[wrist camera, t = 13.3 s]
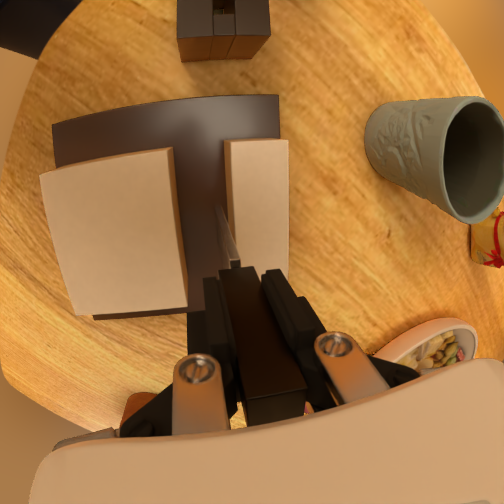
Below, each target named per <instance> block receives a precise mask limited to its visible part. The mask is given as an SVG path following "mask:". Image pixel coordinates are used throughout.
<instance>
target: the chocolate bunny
mask: <svg viewBox="0 0 504 504" xmlns="http://www.w3.org/2000/svg"><path fill="white" fill-rule="evenodd" d="M498 208H499V207H497V208H496V209H495V210H494V212H493V213H492V214H491V215H490V216H488V217H487V218H486V219H485V220H483V221H482V222H479V223H476V224H471V258H472V261H474V262H476V263H478V264H482V265H487V266H491V267H496V268H501V266H504V212H501V211H500V210H499V209H498Z"/></svg>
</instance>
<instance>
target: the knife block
mask: <svg viewBox="0 0 504 504" xmlns="http://www.w3.org/2000/svg"><path fill="white" fill-rule="evenodd" d="M215 9H224V14H216V15H213V10H215ZM270 36H271V29H270V13H269V0H177V42H178V47H179V52H180V57H181V62H191V61H204V60H222V59H252V57H253V56H254V55H255V54H256V53H257V51H258V50H259V49H260V48H261V47H262V45H263V44H264V43H265V42H266V41H267V39H268V38H269V37H270Z"/></svg>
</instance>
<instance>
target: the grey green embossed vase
mask: <svg viewBox="0 0 504 504" xmlns="http://www.w3.org/2000/svg"><path fill="white" fill-rule="evenodd" d="M364 143H365V150H366V154H367V156H368V159H369V161H370V163H371V165H372V166H373V168H374V169H375V170H376V171H377V172H378V173H379V174H380V175H381V176H383V177H384V178H386V179H388V180H390V181H392V182H394V183H396V184H398V185H400V186H402V187H404V188H405V189H407V190H408V191H410V192H412V193H414V194H415V195H417V196H419V197H422V198H424V199H428V200H429V201H430V202H431V203H432V204H436V205H437V206H438V207H439V208H440V209H442V210H443V211H445V212H447V213H448V214H450V215H451V216H453V217H454V218H456V219H457V220H459V221H460V222H463V223H466V224H476V223H479V222H482V221H483V220H485V219H486V218H487V217H488V216H490V215H491V214H492V213H493V212H494V210H495V209H496V208H497V206H498V205H499V203H500V201H501V199H502V197H503V195H504V121H503V118H502V116H501V115H500V113H499V111H498V110H497V109H496V108H495V106H494V105H493V104H492V103H490V102H489V101H488V100H486V99H485V98H482V97H478V96H464V97H452V98H434V99H420V100H418V101H417V100H410V101H396V102H389V103H386V104H383V105H382V106H380V107H379V108H377V109H376V110H375V111H374V112H373V114H372V115H371V116H370V118H369V120H368V122H367V125H366V129H365V138H364Z"/></svg>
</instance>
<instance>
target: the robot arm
mask: <svg viewBox="0 0 504 504" xmlns="http://www.w3.org/2000/svg"><path fill="white" fill-rule="evenodd" d="M202 279H203V290H204V300H205V310H200V311H191V312H187V349H188V356H185V357H183V358H182V359H180V360H179V361H178V362H177V364H176V365H175V367H174V372H173V383H172V384H170V385H169V386H168V387H167V388H165V389H164V390H163V391H162V392H161V393H159V394H158V395H157V396H156V397H154V398H153V399H152V400H151V401H149V402H148V403H147V404H146V405H144V406H143V407H142V408H141V409H139V410H138V411H137V412H135V413H134V414H133V415H132V416H130V417H129V418H128V419H127V420H126V421H125V422H124V423H123V424H122V426H121V428H119V429H115V430H114V429H113V428H112V427H111V428H107V429H104V430H100V431H96V432H93V433H89V434H85V435H81V436H77V437H73V438H69V439H64V440H62V441H60V442H58V443H57V444H56V445H55V446H54V449H53V451H52V452H51V453H50V454H48V455H47V456H46V457H45V458H44V459H43V461H42V462H41V464H40V465H39V468H38V470H37V472H36V475H35V478H34V481H33V485H32V488H31V493H30V497H29V503H28V504H504V364H503V363H502V362H500V361H498V360H496V359H491V358H476V359H470V360H465V361H460V362H457V363H454V364H451V365H448V366H446V367H435V368H423V369H419V370H418V372H417V371H415V370H414V369H413V368H410V367H408V366H405V365H401V364H397V363H394V362H390V361H387V360H383V359H380V358H376V357H373V356H370V355H366V354H365V353H364V352H363V350H362V349H361V348H360V346H359V345H358V344H357V342H356V341H355V340H354V339H353V338H352V337H351V336H349V335H347V334H345V333H342V332H335V331H332V332H327V331H326V329H325V328H324V326H323V324H322V323H321V321H320V320H319V318H318V317H317V315H316V313H315V312H314V310H313V309H312V307H311V306H310V304H309V302H308V301H307V299H306V298H305V297H304V296H301V297H297V296H296V294H295V293H294V291H293V289H292V288H291V286H290V284H289V283H288V281H287V279H286V278H285V276H284V274H283V273H282V271H281V269H280V268H279V269H271V270H266V272H265V274H261V285H262V287H263V289H264V292H265V294H266V296H267V298H268V301H269V303H270V305H271V307H272V310H273V312H274V314H275V316H276V319H277V321H278V323H279V326H280V328H281V330H282V332H283V335H284V337H285V339H286V341H287V344H288V346H289V347H290V348H291V350H292V353H293V355H294V357H295V359H296V362H297V364H298V366H299V368H300V370H301V373H302V375H303V377H304V379H305V382H306V384H307V386H308V391H307V397H306V407H307V409H308V411H309V414H308V415H304V416H300V417H296V418H292V419H287V420H282V421H278V422H273V423H268V424H262V425H257V426H251V427H245V428H239V429H232V430H231V425H230V418H231V417H232V416H233V415H234V414H235V413H236V412H237V411H238V407H237V402H241V398H240V394H239V385H238V376H237V367H236V356H237V352H236V344H235V338H234V333H233V329H232V324H231V320H230V315H229V311H228V306H227V301H226V297H225V292H224V287H223V283H222V279H219V280H216V276H213V277H205V278H202Z"/></svg>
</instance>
